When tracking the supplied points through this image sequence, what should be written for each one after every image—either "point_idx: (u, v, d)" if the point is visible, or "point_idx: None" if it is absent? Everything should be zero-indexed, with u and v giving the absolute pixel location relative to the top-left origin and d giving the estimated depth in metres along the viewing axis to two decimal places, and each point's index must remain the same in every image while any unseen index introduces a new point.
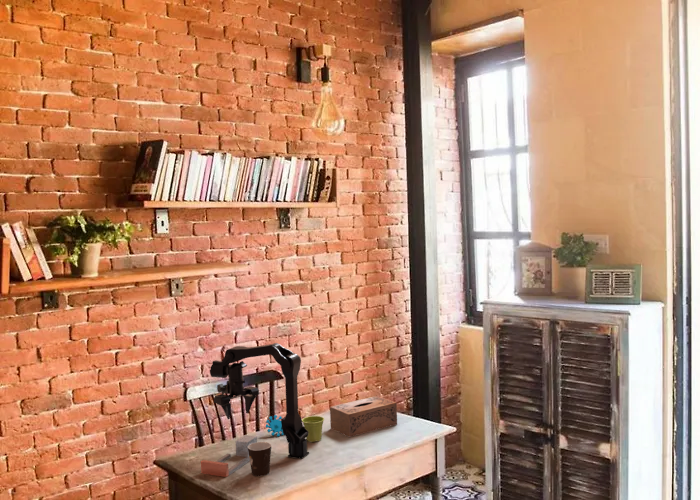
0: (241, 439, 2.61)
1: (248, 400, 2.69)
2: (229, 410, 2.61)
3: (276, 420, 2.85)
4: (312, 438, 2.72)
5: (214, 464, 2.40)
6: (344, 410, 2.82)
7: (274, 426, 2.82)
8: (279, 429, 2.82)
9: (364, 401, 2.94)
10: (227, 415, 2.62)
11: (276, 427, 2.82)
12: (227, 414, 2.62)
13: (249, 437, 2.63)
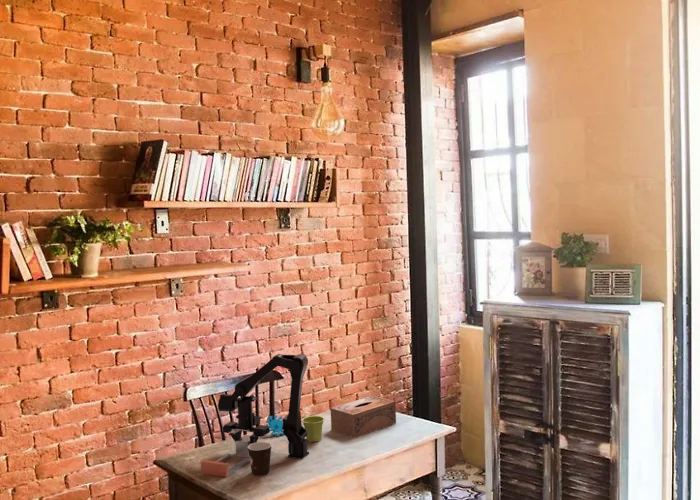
0: (241, 439, 2.61)
1: None
2: (235, 441, 2.61)
3: (276, 420, 2.85)
4: (312, 438, 2.72)
5: (214, 464, 2.40)
6: (347, 411, 2.81)
7: (274, 426, 2.82)
8: (279, 429, 2.82)
9: (363, 401, 2.94)
10: None
11: (276, 427, 2.82)
12: None
13: (249, 437, 2.63)
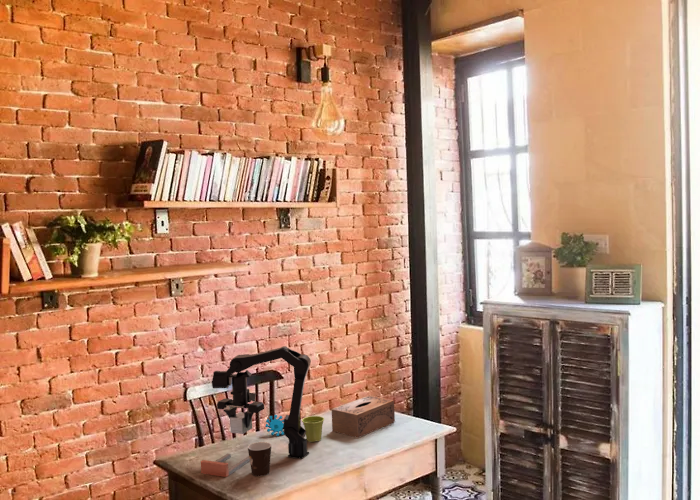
0: (236, 416, 2.58)
1: None
2: None
3: (276, 420, 2.85)
4: (311, 438, 2.72)
5: (214, 464, 2.40)
6: (349, 411, 2.80)
7: (274, 426, 2.83)
8: (279, 429, 2.82)
9: (361, 401, 2.94)
10: None
11: (276, 427, 2.83)
12: None
13: None
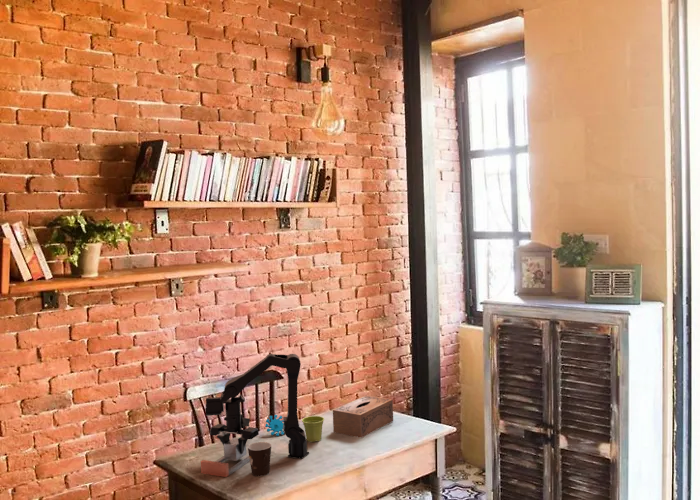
0: (229, 442, 2.53)
1: None
2: (223, 443, 2.53)
3: (276, 420, 2.85)
4: (312, 438, 2.72)
5: (214, 464, 2.40)
6: (351, 411, 2.79)
7: (274, 426, 2.83)
8: (279, 429, 2.82)
9: (360, 401, 2.94)
10: None
11: (276, 427, 2.83)
12: None
13: None
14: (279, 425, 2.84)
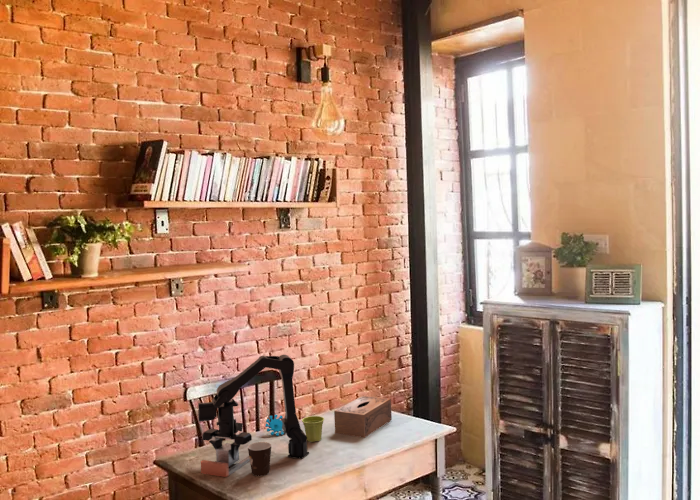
0: (222, 447, 2.49)
1: None
2: (216, 448, 2.49)
3: (276, 419, 2.85)
4: (311, 438, 2.72)
5: (214, 464, 2.40)
6: (353, 412, 2.79)
7: (274, 425, 2.83)
8: (279, 429, 2.83)
9: (359, 401, 2.94)
10: None
11: (276, 426, 2.83)
12: None
13: (230, 445, 2.51)
14: (279, 425, 2.84)
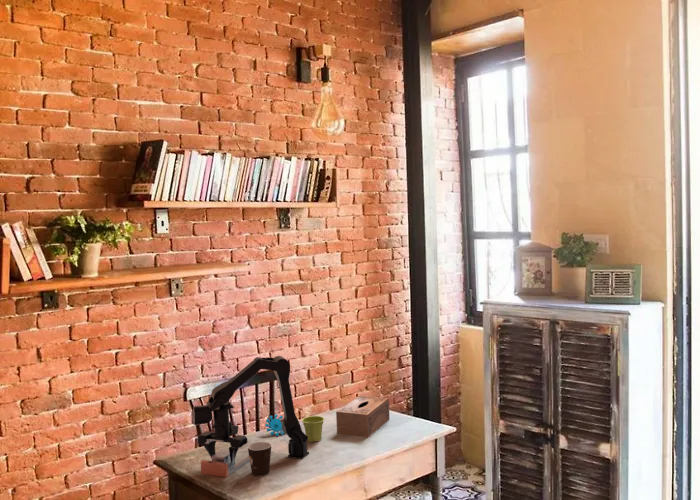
0: (218, 454, 2.46)
1: None
2: (208, 451, 2.47)
3: (276, 419, 2.85)
4: (312, 438, 2.72)
5: (214, 464, 2.40)
6: (356, 412, 2.79)
7: (274, 425, 2.83)
8: (278, 428, 2.83)
9: (358, 401, 2.94)
10: None
11: (275, 426, 2.83)
12: None
13: (226, 451, 2.48)
14: (279, 425, 2.84)
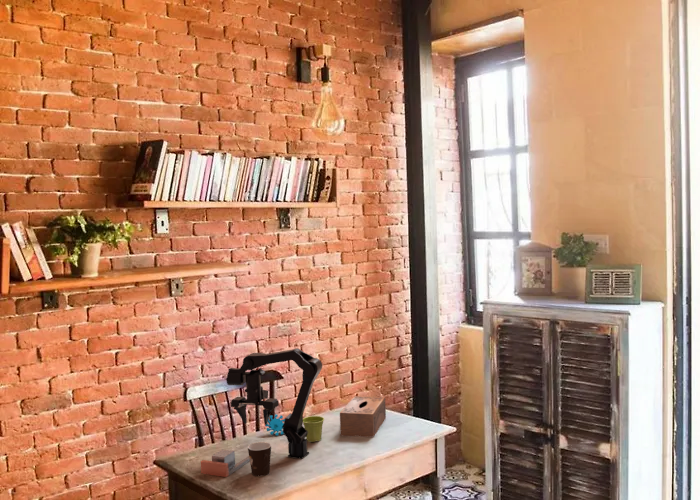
0: (218, 454, 2.46)
1: None
2: (240, 414, 2.61)
3: (276, 419, 2.86)
4: (311, 438, 2.72)
5: (214, 464, 2.40)
6: (360, 412, 2.78)
7: (273, 425, 2.83)
8: (278, 428, 2.83)
9: (357, 402, 2.93)
10: None
11: (275, 426, 2.83)
12: None
13: (226, 451, 2.48)
14: (279, 425, 2.84)
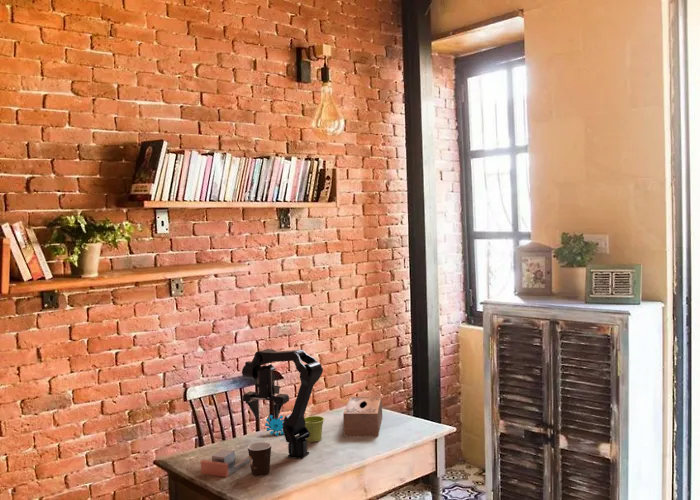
0: (218, 454, 2.46)
1: None
2: (252, 409, 2.67)
3: None
4: (312, 438, 2.72)
5: (214, 464, 2.40)
6: (364, 412, 2.78)
7: (273, 425, 2.84)
8: (278, 428, 2.83)
9: (355, 402, 2.93)
10: None
11: (275, 426, 2.83)
12: None
13: (226, 451, 2.48)
14: (279, 425, 2.84)
